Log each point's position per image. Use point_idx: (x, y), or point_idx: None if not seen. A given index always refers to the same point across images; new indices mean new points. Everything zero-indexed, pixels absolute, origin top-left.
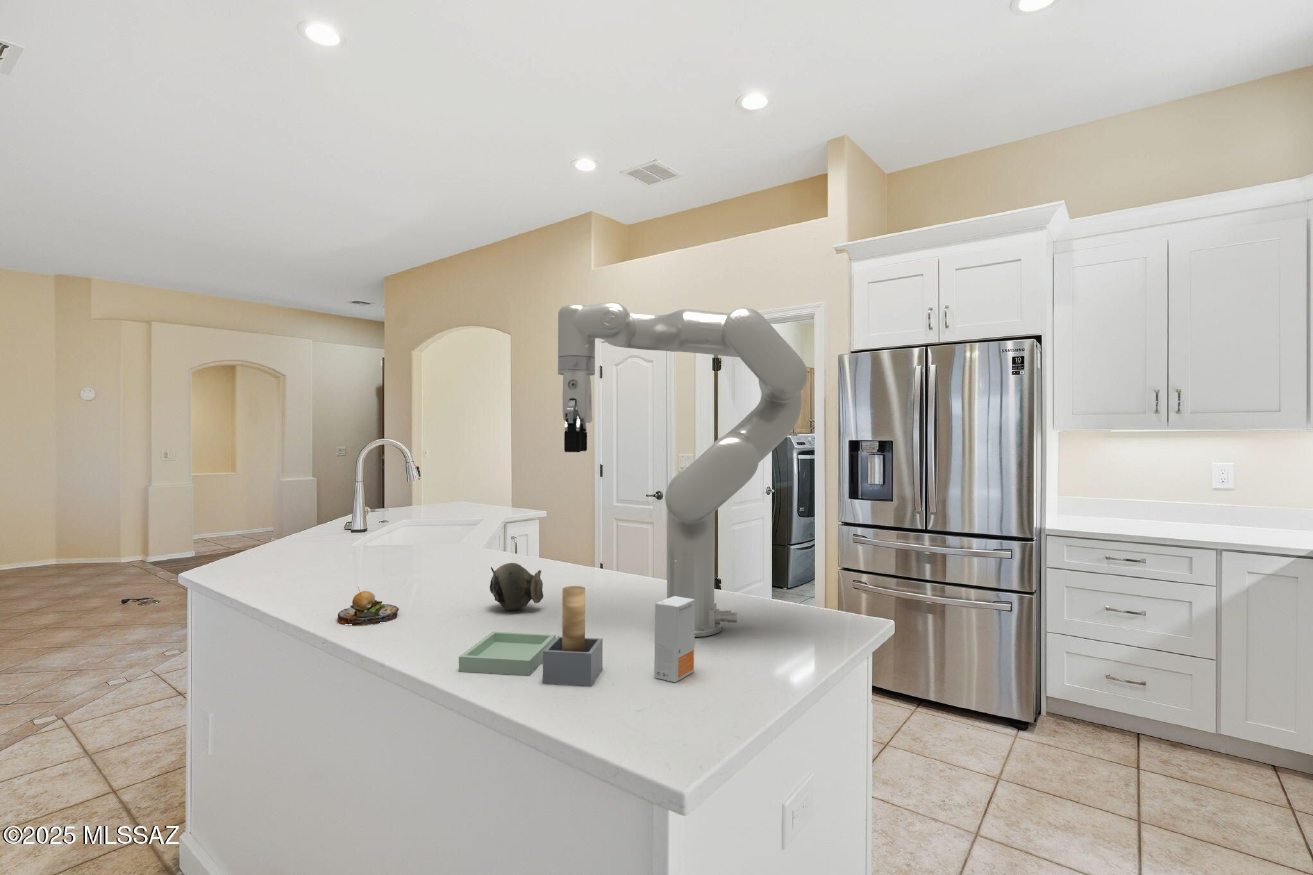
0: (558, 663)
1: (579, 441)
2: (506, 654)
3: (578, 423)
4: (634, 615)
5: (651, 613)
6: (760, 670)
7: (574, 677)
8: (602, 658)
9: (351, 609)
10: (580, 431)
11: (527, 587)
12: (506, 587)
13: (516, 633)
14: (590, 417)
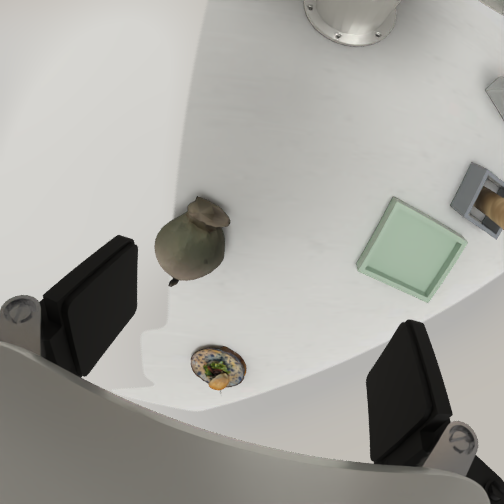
0: None
1: (434, 367)
2: (411, 255)
3: (463, 475)
4: (264, 62)
5: (257, 37)
6: (500, 18)
7: None
8: (476, 164)
9: (204, 378)
10: (61, 344)
11: (216, 228)
12: (220, 258)
13: (375, 246)
14: (152, 472)
